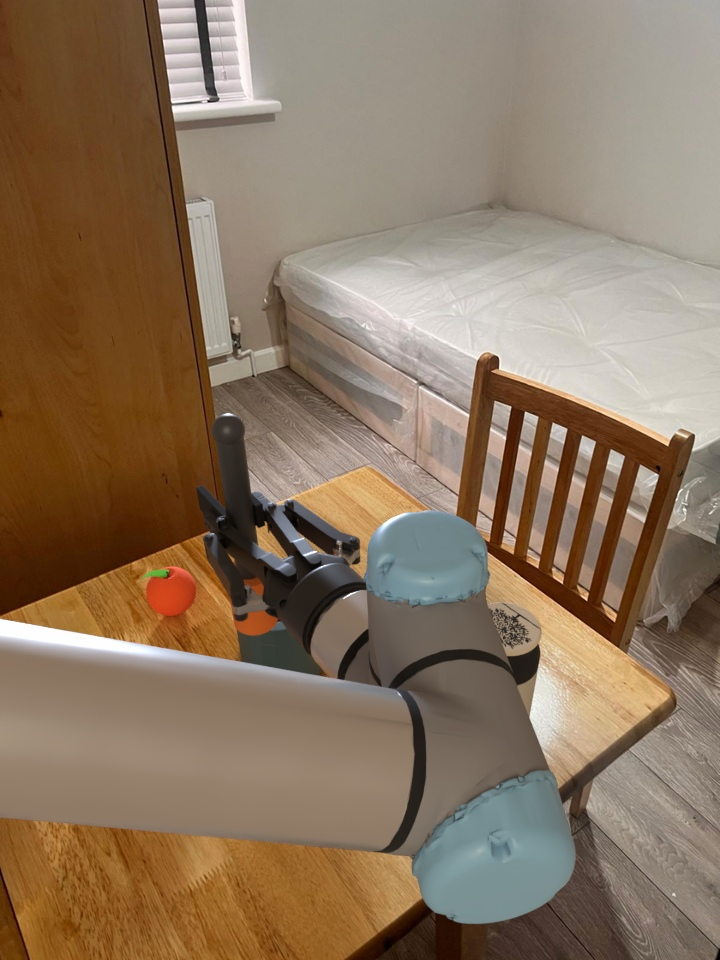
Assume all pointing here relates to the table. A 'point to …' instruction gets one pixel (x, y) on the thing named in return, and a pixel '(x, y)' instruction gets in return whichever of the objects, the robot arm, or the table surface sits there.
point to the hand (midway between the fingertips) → (216, 491)
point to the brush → (239, 506)
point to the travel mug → (519, 645)
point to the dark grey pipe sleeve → (277, 651)
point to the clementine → (170, 590)
